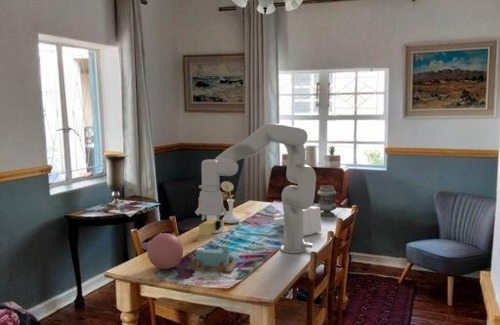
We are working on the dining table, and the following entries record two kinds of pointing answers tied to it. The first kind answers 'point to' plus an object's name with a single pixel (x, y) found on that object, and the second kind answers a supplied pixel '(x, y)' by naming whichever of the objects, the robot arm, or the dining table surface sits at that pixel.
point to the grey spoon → (231, 216)
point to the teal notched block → (212, 256)
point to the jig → (222, 266)
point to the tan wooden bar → (209, 226)
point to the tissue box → (305, 220)
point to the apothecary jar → (327, 200)
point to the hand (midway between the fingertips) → (211, 228)
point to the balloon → (164, 250)
